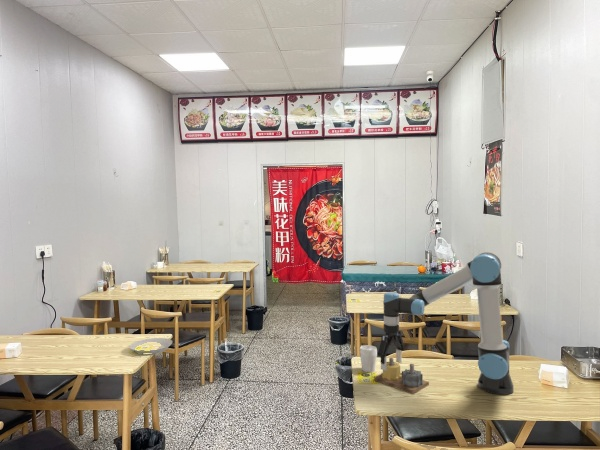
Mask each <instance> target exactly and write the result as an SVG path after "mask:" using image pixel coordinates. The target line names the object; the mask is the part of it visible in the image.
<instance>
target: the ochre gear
mask: <svg viewBox="0 0 600 450" xmlns="http://www.w3.org/2000/svg"><path fill="white" fill-rule="evenodd" d="M401 373H402V372H401V365H400V363H398V362H396V361H393V366H390V365H389V361H386V371H385V370H382V372H381V373H380V374H381V375H382V378H386V379H388V380H398V379H399V378H402V375H401Z"/></svg>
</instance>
